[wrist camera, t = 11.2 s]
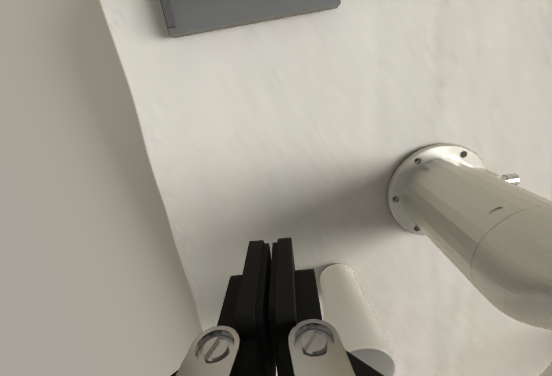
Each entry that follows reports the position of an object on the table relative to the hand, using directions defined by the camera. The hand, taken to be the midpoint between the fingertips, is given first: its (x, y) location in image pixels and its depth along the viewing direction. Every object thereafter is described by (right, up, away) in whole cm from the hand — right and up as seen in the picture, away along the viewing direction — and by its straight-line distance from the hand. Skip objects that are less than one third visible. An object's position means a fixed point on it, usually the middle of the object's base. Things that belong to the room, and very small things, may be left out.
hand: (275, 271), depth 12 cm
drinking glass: (+9, -10, +32) cm, 35 cm away
